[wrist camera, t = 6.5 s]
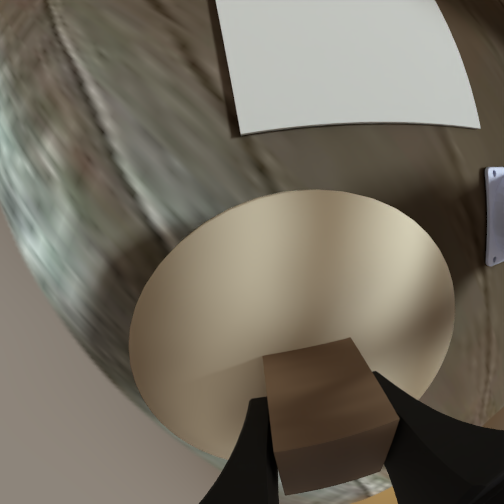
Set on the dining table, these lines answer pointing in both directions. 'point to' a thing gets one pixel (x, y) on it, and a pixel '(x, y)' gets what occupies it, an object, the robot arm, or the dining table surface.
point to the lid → (294, 330)
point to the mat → (343, 64)
